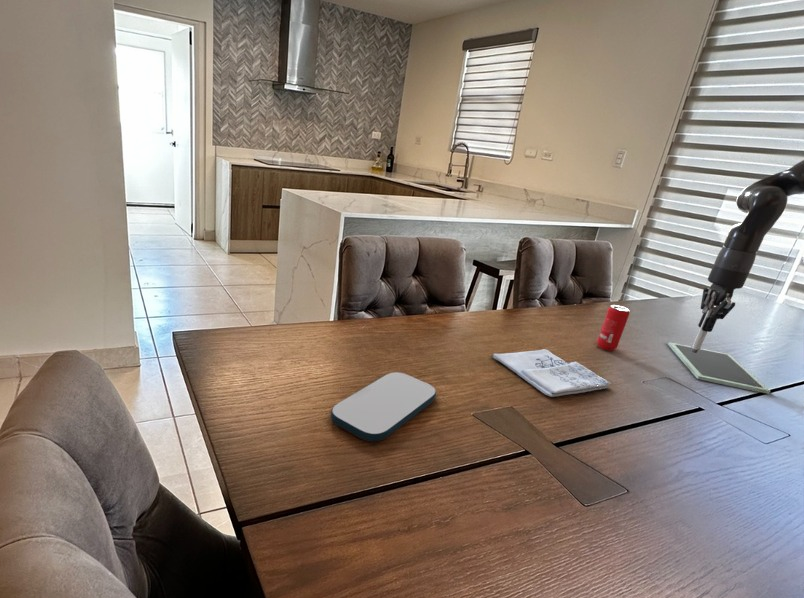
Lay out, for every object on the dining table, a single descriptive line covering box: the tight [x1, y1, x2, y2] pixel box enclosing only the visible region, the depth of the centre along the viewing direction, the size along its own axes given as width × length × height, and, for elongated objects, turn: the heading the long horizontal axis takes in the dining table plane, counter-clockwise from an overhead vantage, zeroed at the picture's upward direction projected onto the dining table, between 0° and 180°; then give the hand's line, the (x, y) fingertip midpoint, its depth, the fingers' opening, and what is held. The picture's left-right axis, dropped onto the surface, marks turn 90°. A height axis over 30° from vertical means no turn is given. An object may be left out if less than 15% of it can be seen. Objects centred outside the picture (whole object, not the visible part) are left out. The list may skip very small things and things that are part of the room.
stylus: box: [691, 310, 714, 353], centre depth 126 cm, size 2×2×12 cm
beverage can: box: [596, 304, 630, 352], centre depth 130 cm, size 5×5×12 cm
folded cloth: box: [492, 348, 612, 398], centre depth 112 cm, size 19×20×2 cm
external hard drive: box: [330, 371, 437, 443], centre depth 90 cm, size 24×12×2 cm, turn 143°
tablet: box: [667, 341, 771, 395], centre depth 128 cm, size 16×23×1 cm
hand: (704, 329), depth 125 cm, fingers closed on stylus, 2 cm apart
